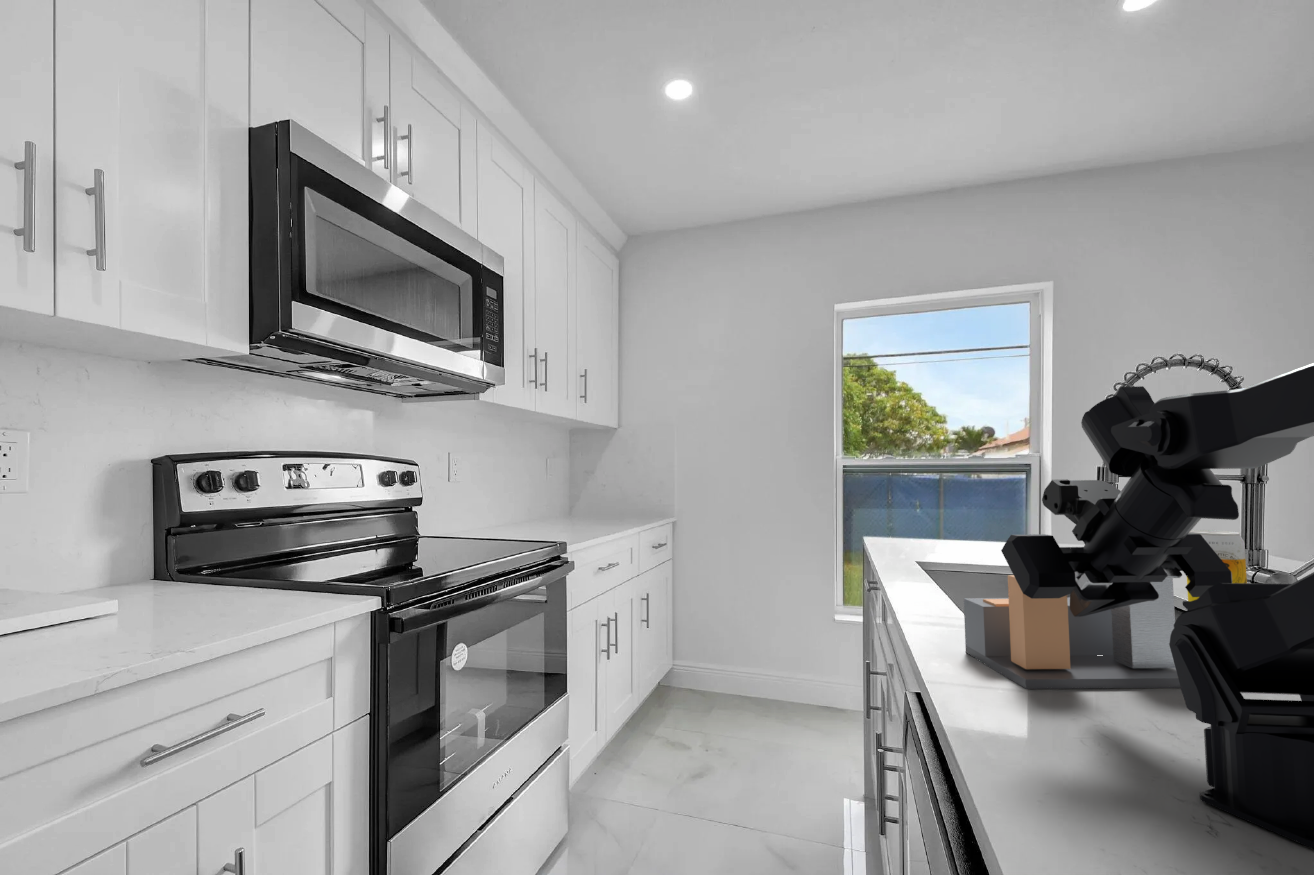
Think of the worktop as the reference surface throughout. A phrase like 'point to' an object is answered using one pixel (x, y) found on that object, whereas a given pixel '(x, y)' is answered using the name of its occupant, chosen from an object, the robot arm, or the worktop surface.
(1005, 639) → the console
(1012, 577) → the tan rectangular block
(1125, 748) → the worktop surface
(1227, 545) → the beer can
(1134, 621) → the light grey block
